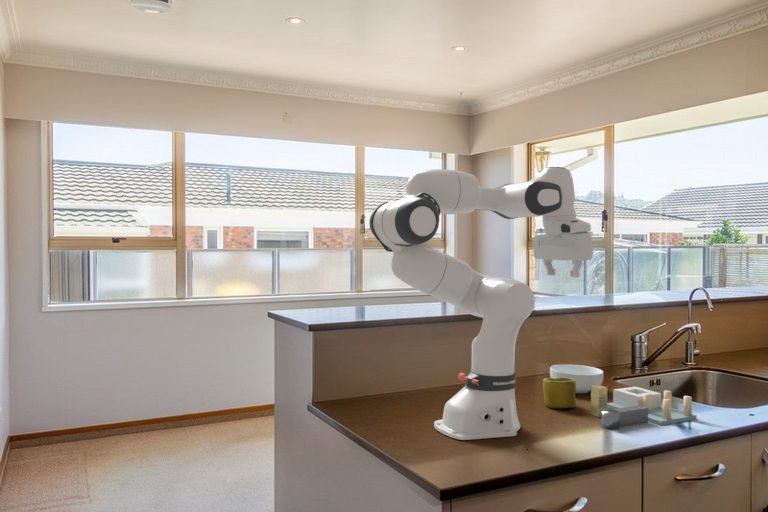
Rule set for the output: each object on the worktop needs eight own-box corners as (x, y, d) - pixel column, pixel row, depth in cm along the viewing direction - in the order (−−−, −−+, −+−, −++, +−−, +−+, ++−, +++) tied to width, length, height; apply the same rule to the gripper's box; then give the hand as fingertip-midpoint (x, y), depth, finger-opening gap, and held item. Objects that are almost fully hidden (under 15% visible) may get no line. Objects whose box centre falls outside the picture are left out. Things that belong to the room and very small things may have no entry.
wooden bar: (598, 417, 161) (599, 388, 161) (590, 414, 164) (591, 386, 164) (607, 416, 162) (607, 387, 162) (598, 413, 165) (599, 385, 165)
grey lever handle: (610, 430, 150) (610, 415, 150) (597, 425, 154) (597, 410, 154) (650, 423, 156) (650, 408, 156) (636, 418, 160) (636, 404, 160)
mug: (584, 406, 165) (573, 371, 167) (548, 415, 167) (537, 380, 170) (581, 403, 177) (571, 370, 179) (548, 411, 179) (538, 379, 181)
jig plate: (660, 425, 154) (660, 402, 154) (605, 406, 172) (605, 386, 171) (696, 418, 160) (696, 397, 160) (640, 401, 177) (640, 382, 177)
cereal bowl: (608, 398, 181) (608, 375, 181) (552, 395, 184) (552, 373, 184) (598, 385, 198) (598, 364, 198) (547, 383, 201) (547, 362, 200)
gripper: (526, 228, 169) (529, 275, 170) (577, 226, 151) (580, 279, 151) (543, 226, 172) (546, 273, 173) (595, 224, 153) (598, 276, 154)
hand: (563, 276), depth 162 cm, fingers open, 8 cm apart
